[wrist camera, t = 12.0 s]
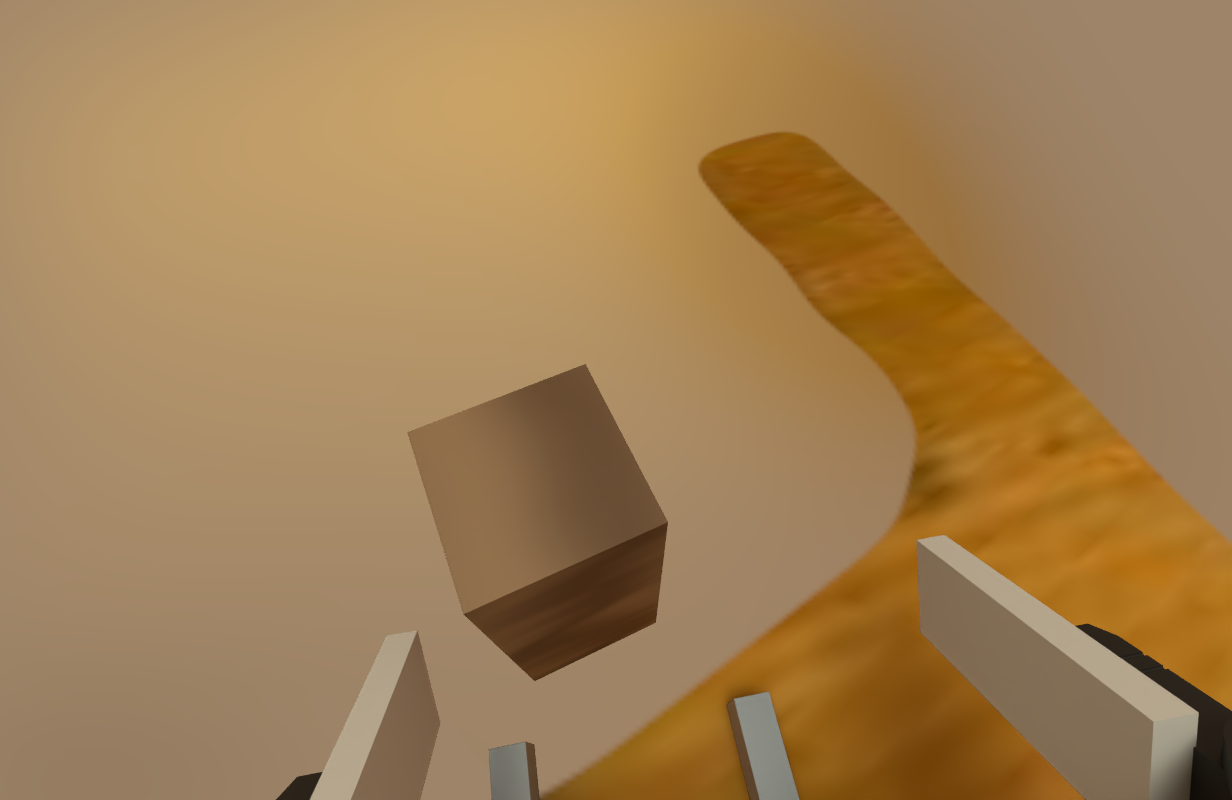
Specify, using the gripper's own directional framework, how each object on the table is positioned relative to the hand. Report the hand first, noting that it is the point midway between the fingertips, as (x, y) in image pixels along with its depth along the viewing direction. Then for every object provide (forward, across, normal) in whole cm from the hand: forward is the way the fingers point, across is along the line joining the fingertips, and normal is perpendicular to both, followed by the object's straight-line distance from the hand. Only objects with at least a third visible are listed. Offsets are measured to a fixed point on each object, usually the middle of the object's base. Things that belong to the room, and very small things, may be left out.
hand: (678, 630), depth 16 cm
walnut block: (+8, -3, -3) cm, 9 cm away
